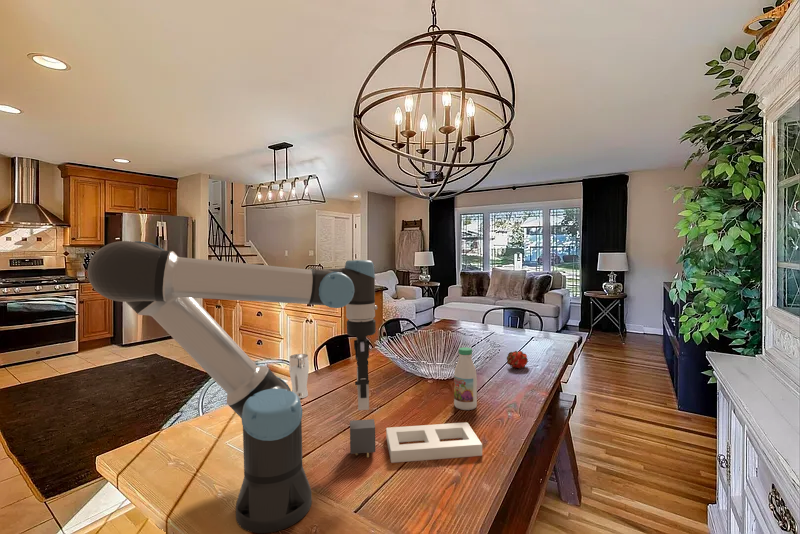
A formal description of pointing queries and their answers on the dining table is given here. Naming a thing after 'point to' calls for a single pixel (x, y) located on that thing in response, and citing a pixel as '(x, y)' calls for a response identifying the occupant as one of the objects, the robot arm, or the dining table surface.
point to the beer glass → (299, 374)
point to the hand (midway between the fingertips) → (362, 398)
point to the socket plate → (432, 442)
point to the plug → (362, 436)
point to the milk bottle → (465, 381)
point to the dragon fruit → (517, 359)
